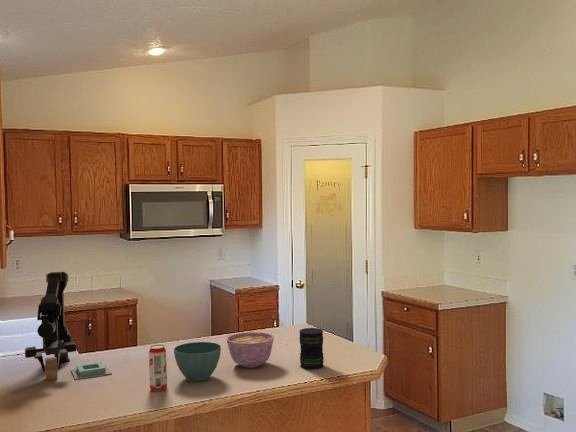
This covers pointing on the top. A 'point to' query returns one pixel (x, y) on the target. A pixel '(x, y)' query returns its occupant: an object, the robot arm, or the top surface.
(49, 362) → the walnut peg
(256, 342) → the bowl of food
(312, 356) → the storage jar
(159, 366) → the beer can
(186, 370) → the teal bowl
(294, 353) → the top surface
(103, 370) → the socket block
